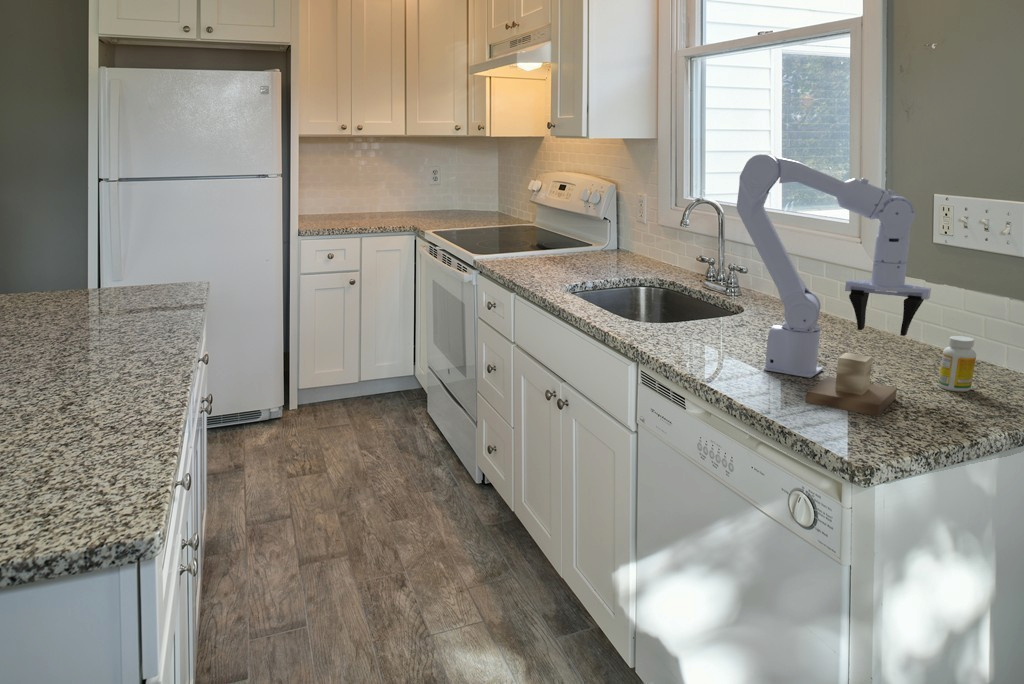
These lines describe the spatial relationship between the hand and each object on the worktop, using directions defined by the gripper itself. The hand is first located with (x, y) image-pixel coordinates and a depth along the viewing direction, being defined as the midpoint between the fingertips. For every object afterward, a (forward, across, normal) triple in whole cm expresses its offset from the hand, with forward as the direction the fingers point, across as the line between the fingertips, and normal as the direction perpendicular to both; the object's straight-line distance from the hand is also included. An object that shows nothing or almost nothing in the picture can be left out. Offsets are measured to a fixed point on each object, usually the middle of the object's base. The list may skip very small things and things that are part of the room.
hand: (881, 331), depth 149 cm
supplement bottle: (+10, +13, +3) cm, 16 cm away
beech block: (+7, 0, -17) cm, 19 cm away
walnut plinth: (+9, 0, -17) cm, 19 cm away
